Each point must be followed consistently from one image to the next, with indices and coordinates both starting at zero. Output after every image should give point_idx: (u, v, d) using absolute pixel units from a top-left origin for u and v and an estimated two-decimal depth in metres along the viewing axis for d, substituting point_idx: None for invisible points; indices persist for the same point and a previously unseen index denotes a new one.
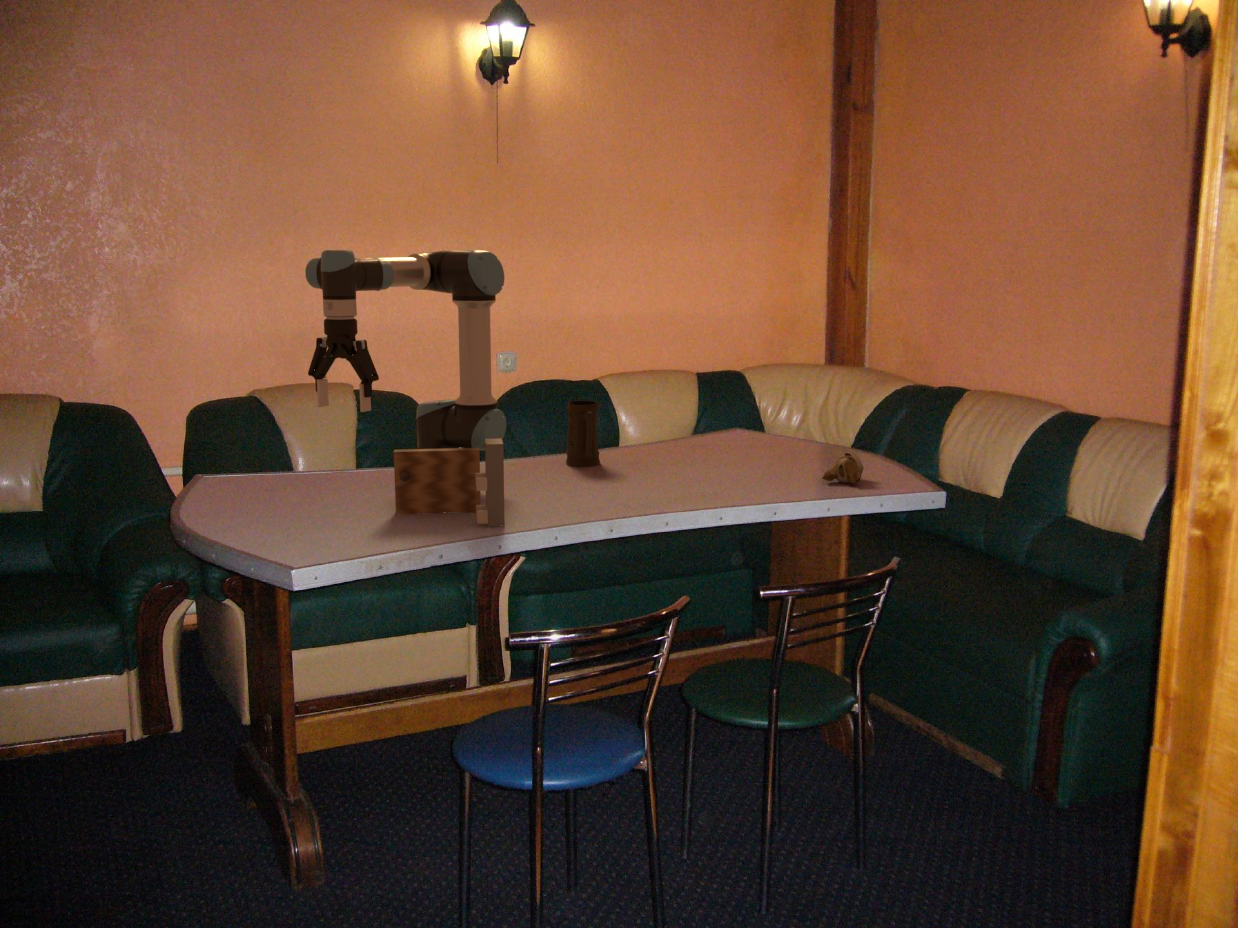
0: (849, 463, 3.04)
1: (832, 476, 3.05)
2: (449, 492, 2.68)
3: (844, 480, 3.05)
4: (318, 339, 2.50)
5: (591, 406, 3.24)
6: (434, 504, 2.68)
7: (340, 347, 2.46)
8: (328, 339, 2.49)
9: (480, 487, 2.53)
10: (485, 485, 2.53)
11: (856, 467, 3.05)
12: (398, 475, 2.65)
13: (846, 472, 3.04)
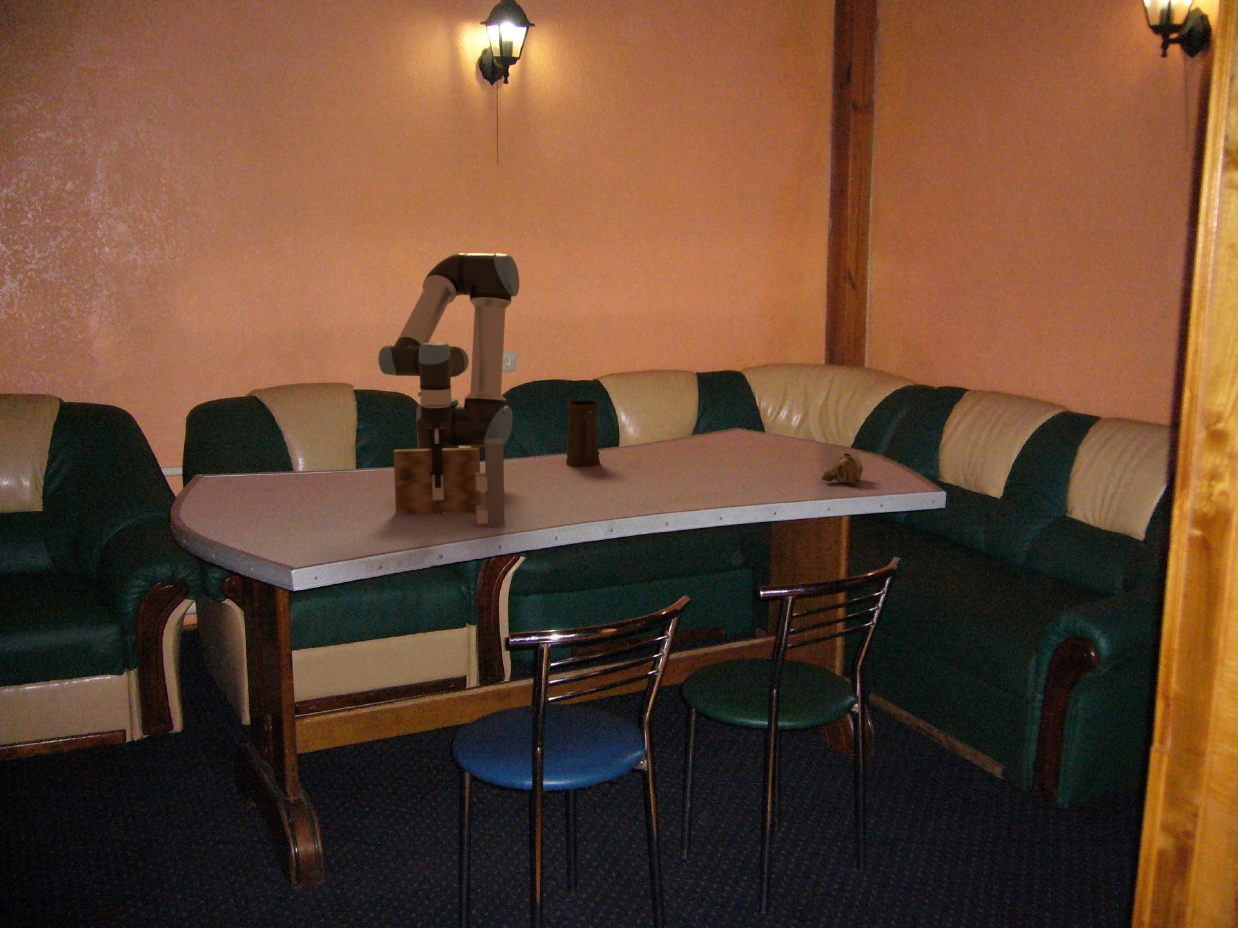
0: (848, 463, 3.04)
1: (831, 476, 3.04)
2: (449, 492, 2.68)
3: (843, 480, 3.05)
4: None
5: (591, 406, 3.24)
6: (434, 503, 2.68)
7: (428, 433, 2.64)
8: None
9: (480, 487, 2.53)
10: (485, 485, 2.53)
11: (855, 468, 3.05)
12: (398, 475, 2.65)
13: (846, 472, 3.03)
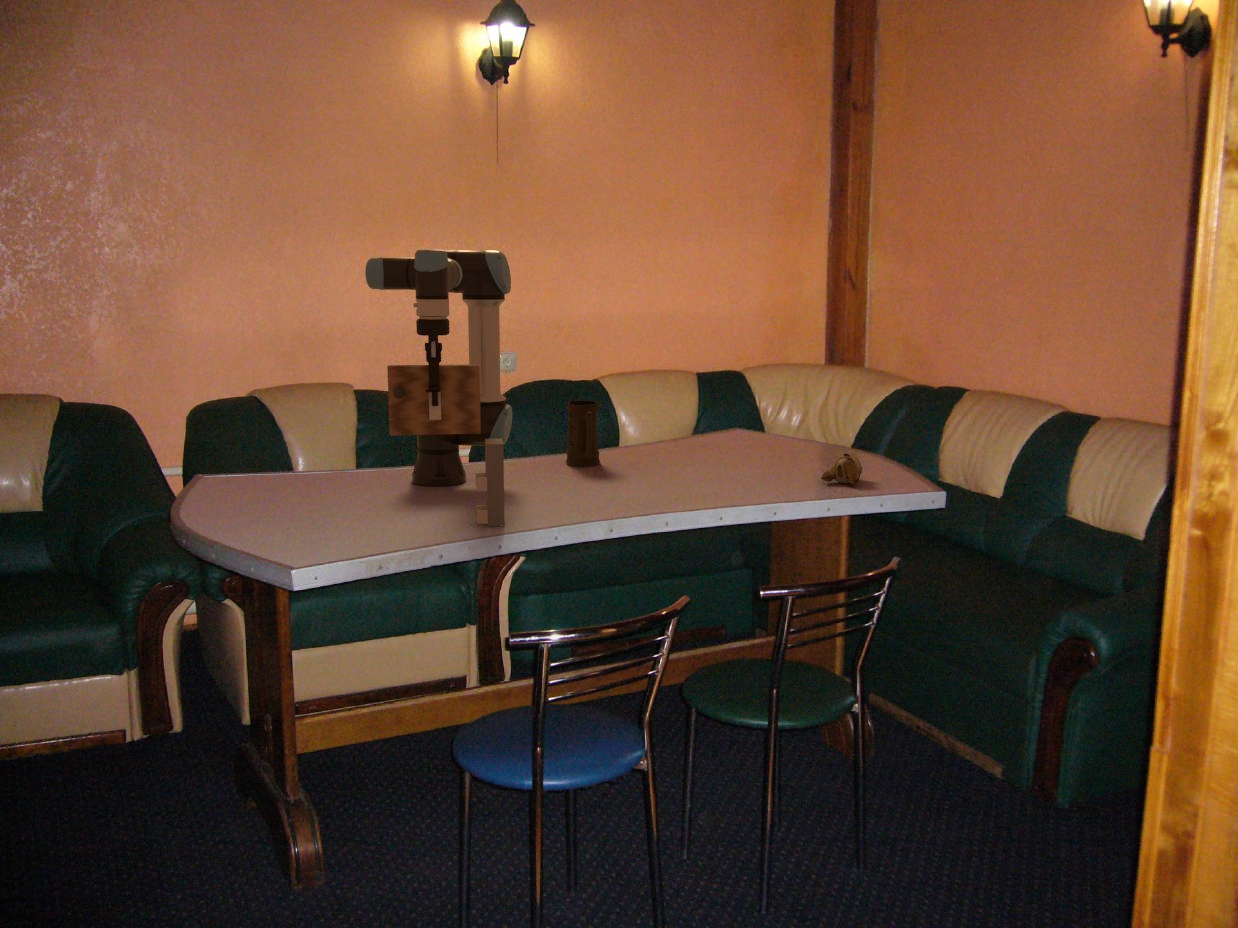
0: (848, 463, 3.03)
1: (831, 477, 3.04)
2: (446, 412, 2.50)
3: (843, 481, 3.04)
4: None
5: (591, 406, 3.24)
6: (431, 424, 2.50)
7: None
8: None
9: (480, 487, 2.53)
10: (485, 485, 2.53)
11: (855, 468, 3.04)
12: (392, 392, 2.47)
13: (845, 472, 3.03)
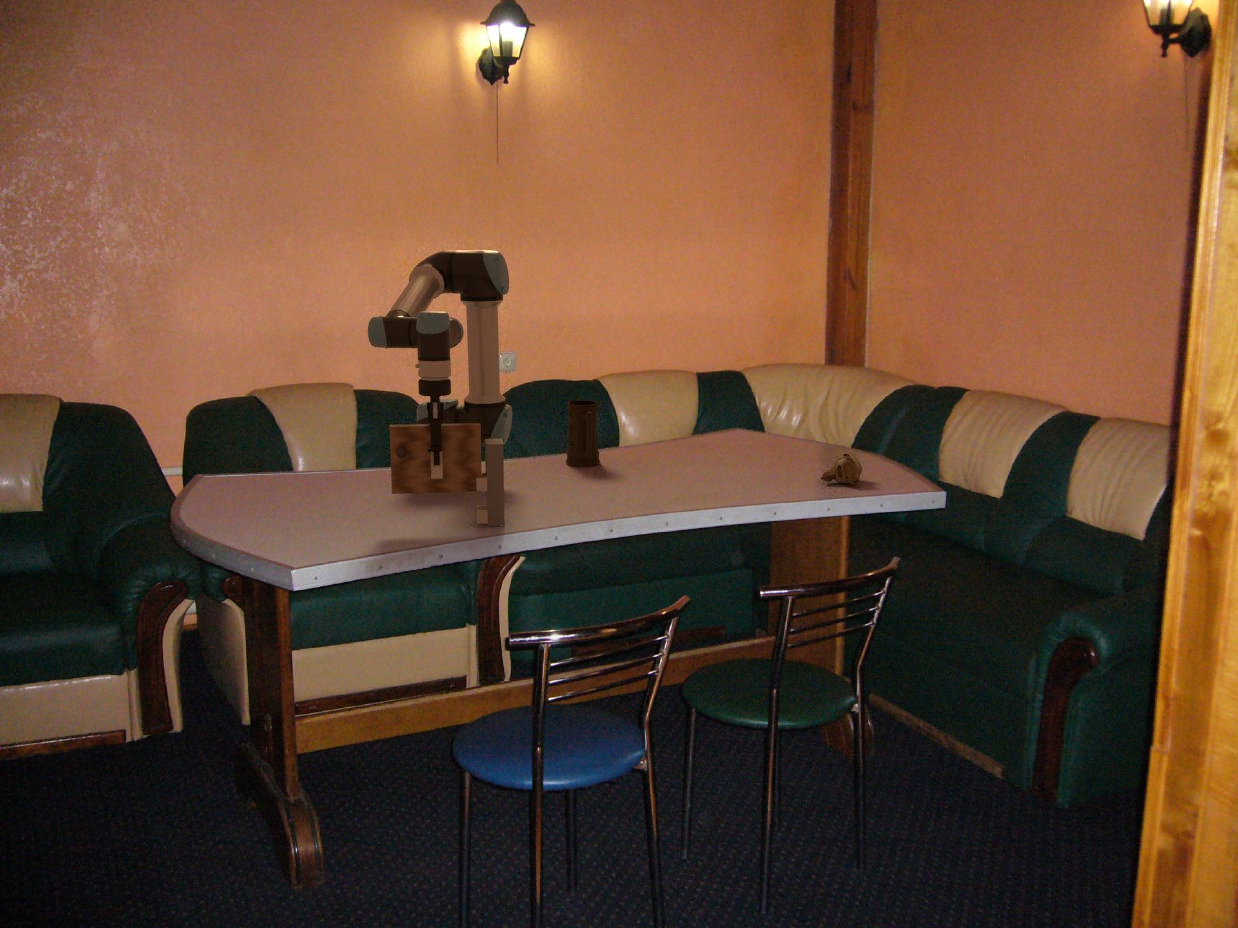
0: (847, 464, 3.03)
1: (830, 477, 3.04)
2: (448, 470, 2.53)
3: (842, 481, 3.04)
4: None
5: (591, 406, 3.24)
6: (433, 482, 2.53)
7: (426, 407, 2.49)
8: None
9: (480, 487, 2.53)
10: (485, 485, 2.53)
11: (854, 468, 3.04)
12: (394, 452, 2.50)
13: (845, 472, 3.03)
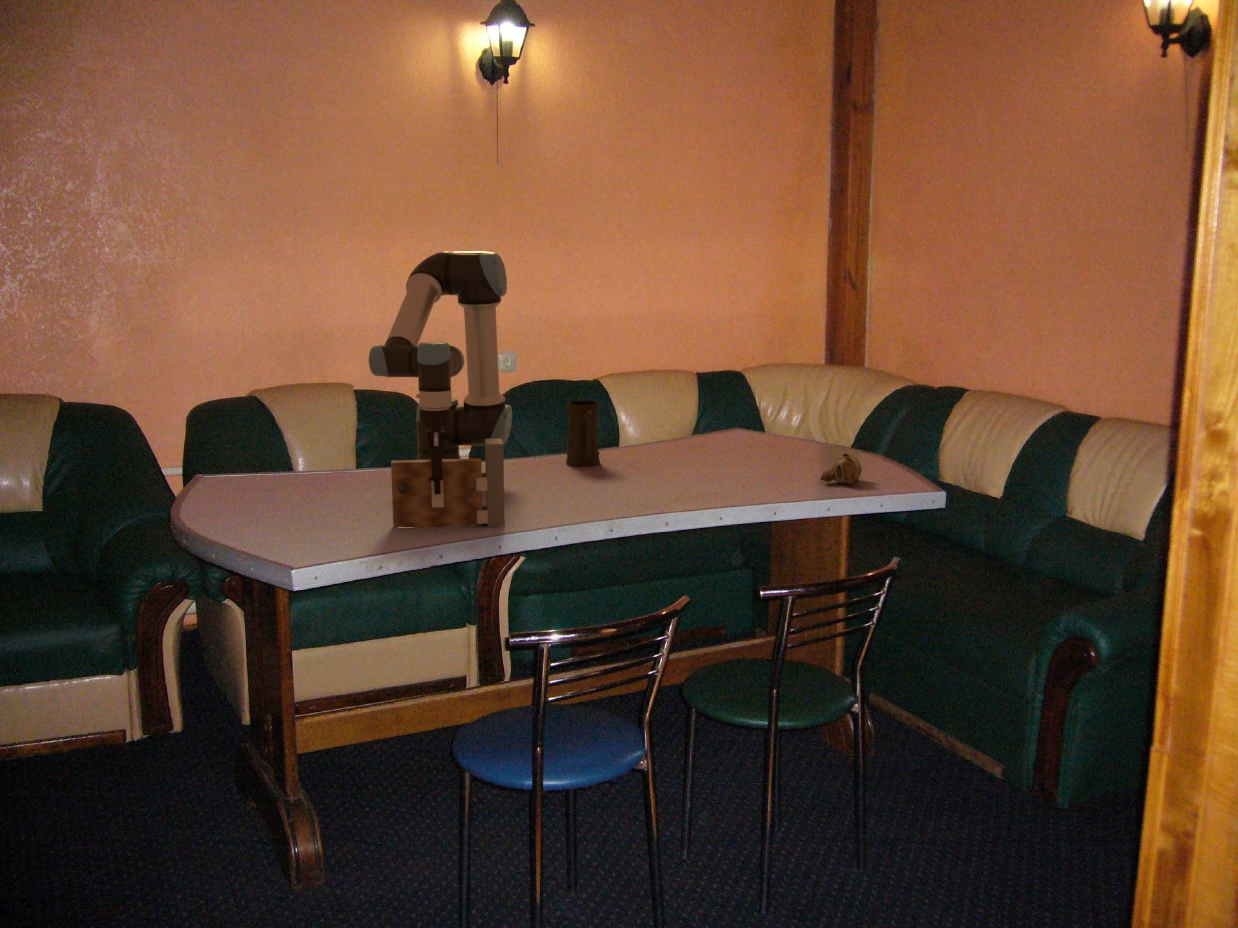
0: (847, 464, 3.03)
1: (830, 477, 3.04)
2: (449, 505, 2.54)
3: (842, 481, 3.04)
4: (430, 429, 2.58)
5: (591, 406, 3.24)
6: (434, 517, 2.54)
7: (427, 437, 2.50)
8: None
9: (480, 487, 2.53)
10: (485, 485, 2.53)
11: (854, 468, 3.04)
12: (395, 488, 2.52)
13: (844, 472, 3.03)
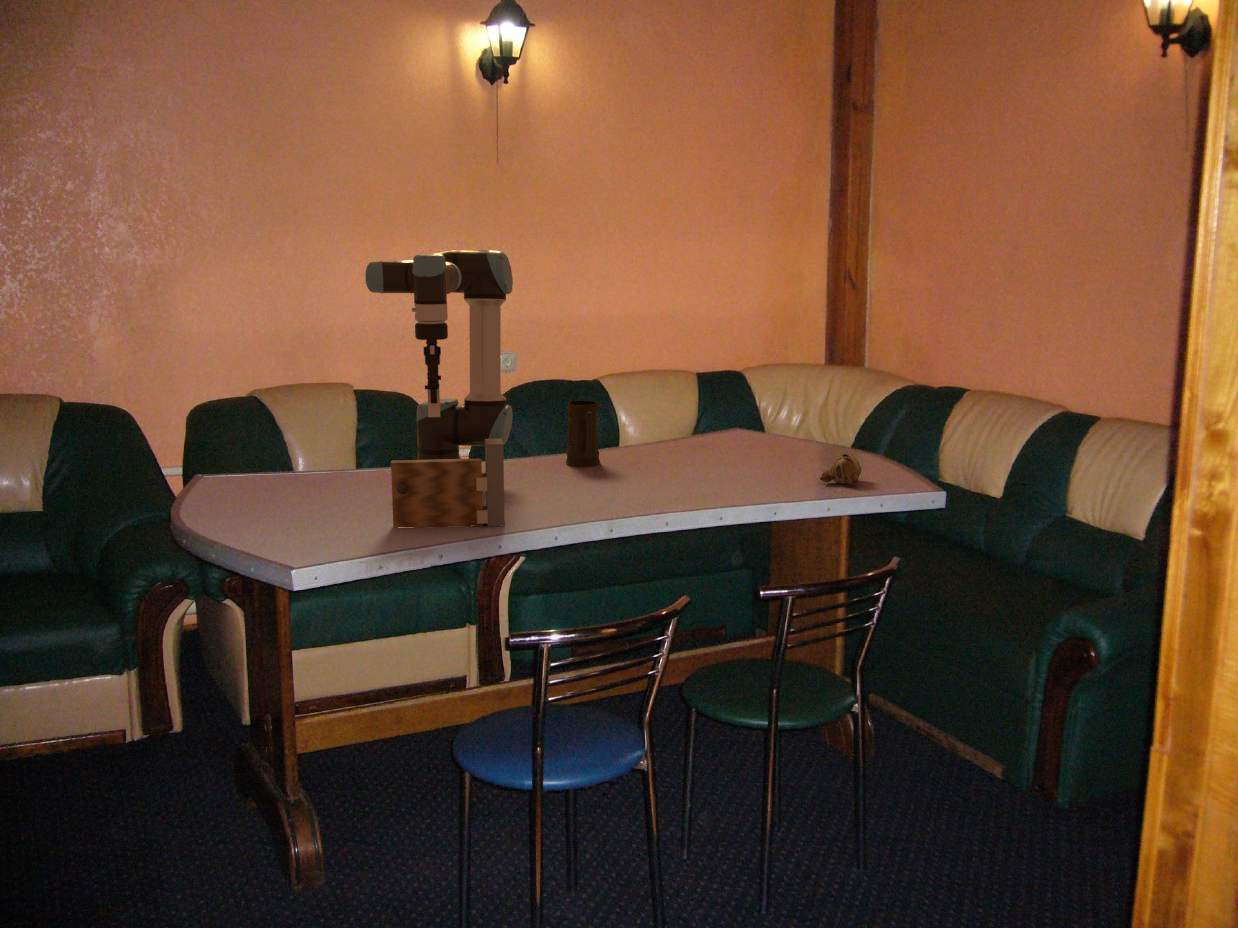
0: (847, 464, 3.03)
1: (829, 477, 3.03)
2: (449, 505, 2.54)
3: (841, 481, 3.04)
4: (426, 341, 2.56)
5: (591, 406, 3.24)
6: (434, 517, 2.54)
7: None
8: None
9: (480, 487, 2.53)
10: (485, 485, 2.53)
11: (854, 468, 3.04)
12: (395, 488, 2.52)
13: (844, 473, 3.02)
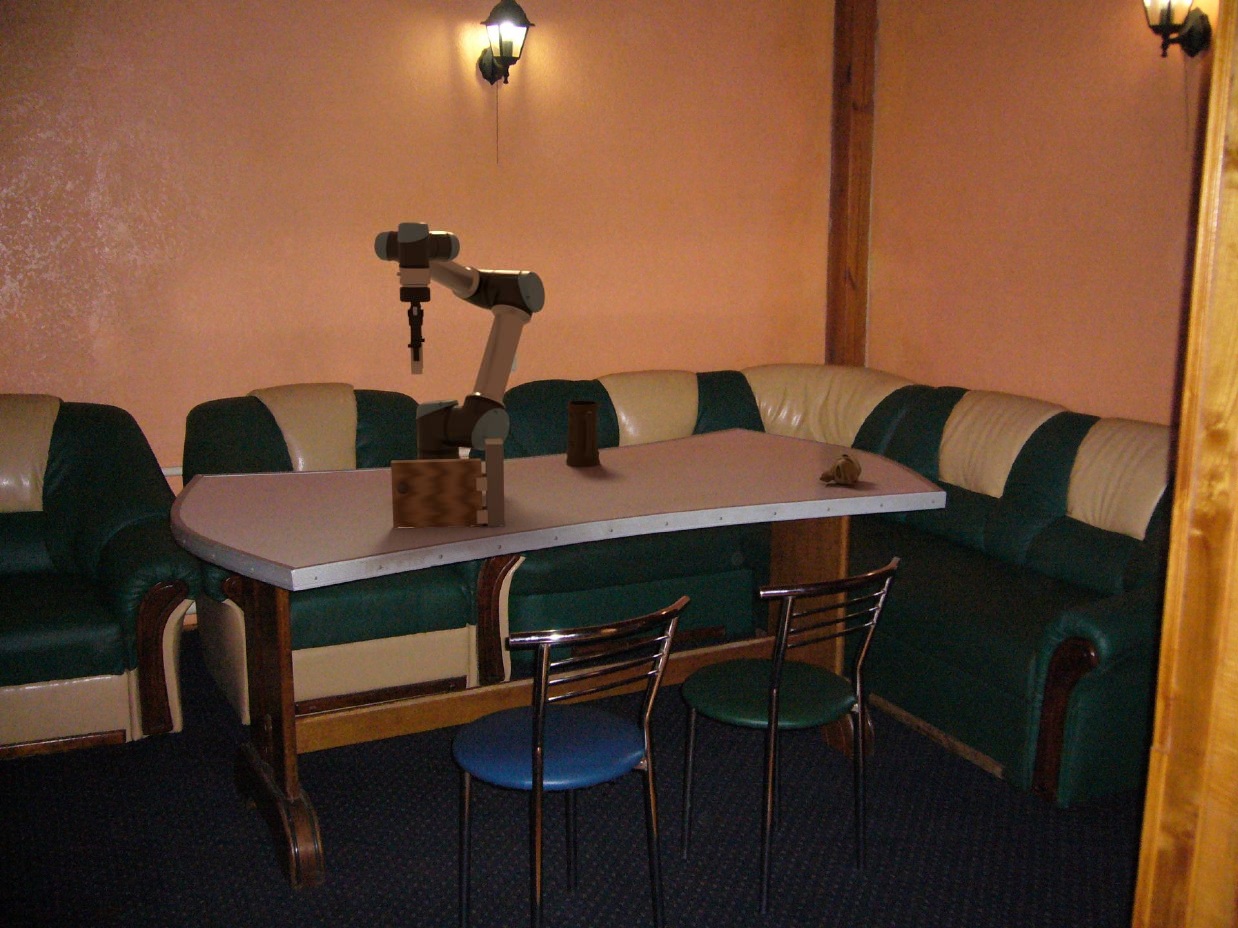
0: (846, 464, 3.02)
1: (829, 477, 3.03)
2: (449, 505, 2.54)
3: (841, 481, 3.04)
4: None
5: (591, 406, 3.24)
6: (434, 517, 2.54)
7: None
8: None
9: (480, 487, 2.53)
10: (485, 485, 2.53)
11: (853, 468, 3.03)
12: (395, 488, 2.52)
13: (843, 473, 3.02)
